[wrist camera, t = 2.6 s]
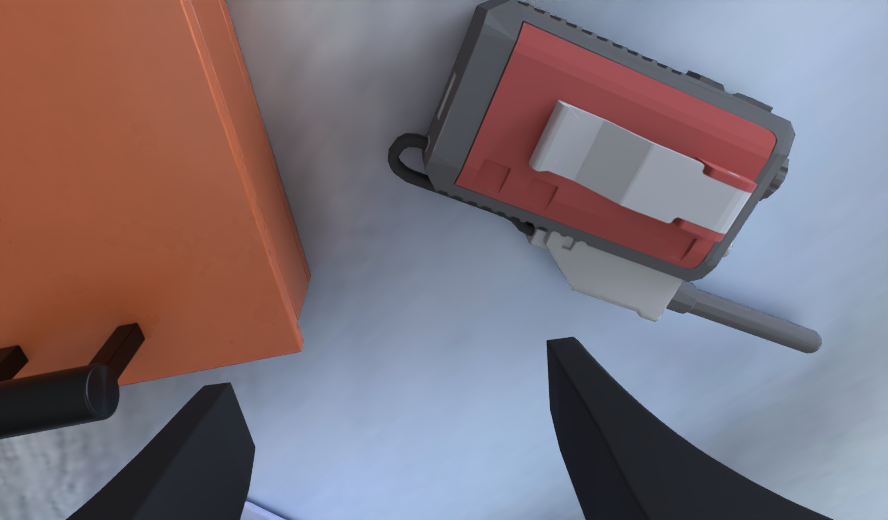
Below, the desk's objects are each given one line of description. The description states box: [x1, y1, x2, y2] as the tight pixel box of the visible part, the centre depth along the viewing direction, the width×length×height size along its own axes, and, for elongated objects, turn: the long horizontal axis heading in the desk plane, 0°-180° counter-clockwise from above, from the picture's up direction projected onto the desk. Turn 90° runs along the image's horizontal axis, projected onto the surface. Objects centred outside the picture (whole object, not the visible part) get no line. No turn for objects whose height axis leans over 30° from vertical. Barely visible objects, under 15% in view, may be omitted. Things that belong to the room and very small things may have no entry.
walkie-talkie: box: [388, 0, 822, 353], centre depth 22 cm, size 9×4×20 cm
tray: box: [189, 0, 311, 320], centre depth 20 cm, size 11×14×4 cm
